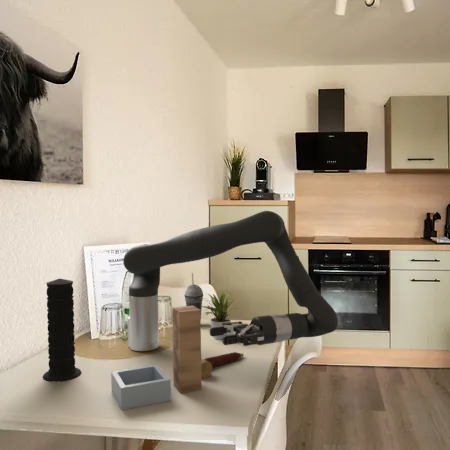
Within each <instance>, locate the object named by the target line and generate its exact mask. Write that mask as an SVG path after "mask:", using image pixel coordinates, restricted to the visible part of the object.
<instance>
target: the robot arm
mask: <svg viewBox="0 0 450 450" xmlns="http://www.w3.org/2000/svg"><path fill="white" fill-rule="evenodd" d="M258 243H265V244H266V246H267V247H268V249H269V250H270V251H271V253H272V255H273V256H274V258H275V259H276V262H277V264H278V267H279V269H280V271H281V274H282V277H283V279H284V282H285V284H286V286H287V288H288V289H289V292H290V294H291V296H292V297H293V299H294V301H295V302H296V304H297V306H299V307H302V308H306V309H307V310H308V311H309V312H308V313H299V312H293V313H292V312H291V313H284V314H280V313H278V314H276V313H275V314H268V315H267V314H266V315H258V316H254V317H253V318H252V319H251V321H250V323H249V324H248V323H247V322H243V321H240V320H239V321H230V323H222V326H221V327H213V328H211V327H210V328H209V336H211V337H213V336H219V335H226V336H223V340H222V344H223V346H229V345H236V344H237V345H243V347H248V346H253V345H257V346H263V345H268V344H276V343H282V342H285V341H288V340H289V341H290V340H296V339H301V338H315V337H321V336H324V335H326V334H330V333H333V332H335V331H336V330H337V328H338V326H339V320H338V315H337V313H336V311H335V309H334V308H333V307H332V306H331V304H330V303H329V302H328V301H327V300H326V299H325V298H324V296H322V295H321V294H320V292H318V289H317V288H316V286H315V284H314V282H313V280H312V279H311V276H310V275H309V273H308V271H307V270H306V268H305V266H304V265H303V263H302V261H301V259H300V257H299V255H298V254H297V252H296V250H295V248H294V247H293V244H292V242H291V239H290V236H289V234H288V231H287V228H286V224H285V222H284V219H283V217H282V216H281V215H279V214H278V213H276V212H274V211H271V210H264V211H260V212H257V213H255V214H253V215H250V216H247V217H246V218H242V219H239V220H236V221H233V222H229V223H221V224H216V225H212V226H206V227H203V228H198V229H195V230H191V231H188V232H186V233H182V234H180V235H177V236H175V237H172V238H170V239H167V240H164V241H161V242H157V243H152V244H148V243H144V244H140V245H135V246H133V247H131V248H129V250H127V251H126V253H125V255H124V256H123V261H122V262H123V265H124V269H126V270H127V271H128V272H129V273H131V274H133V277H132V281H131V284H130V285H129V287H128V310H129V311H128V312H129V316H128V318H127V347H128V348H129V349H130V350H132V351H135V352H149V351H153V350H156V349H158V348H159V345H160V344H159V343H160V341H159V340H160V338H159V337H160V336H159V330H160V329H159V288H160V287H159V286H160V282H161V268H162V267H165V266H170V265H177V264H183V263H190V262H195V261H200V260H205V259H207V258H208V259H209V258H212V257H216V256H219V255H221V254H224V253H226V252H228V251H231V250H233V249H234V248H237V247H240V246H245V245H251V244H258ZM227 328H229V330H227Z"/></svg>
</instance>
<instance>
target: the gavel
mask: <svg viewBox="0 0 450 450" xmlns="http://www.w3.org/2000/svg"><path fill="white" fill-rule="evenodd" d="M243 357H244V353H241V352H235V351H233V352H230V353H224V354H220V355H216V356H215V355H214V356H210V357H206V358H204V359H201V379H205V378H206V379H207V378H208V377H210V376H211V374H212V372H213V367H216V366H219V365H224V364H229V363H232V362H236V360H237V361H238V360H240V359H241V358H243Z"/></svg>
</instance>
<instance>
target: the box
mask: <svg viewBox="0 0 450 450" xmlns="http://www.w3.org/2000/svg"><path fill="white" fill-rule="evenodd" d="M110 373H111V374H110V376H111V380H110V381H111V393H112V395H113V397H114V398H115V400H116V403H117V404H118V406H119V408H120V409H121V410H120V411H124V410H128V409H133V408H140V407H145V406H149V405H150V406H151V405H155V404H160V403H165V402H170V401H172V389H171V388H172V387H171V385H172V384H171V383H172V382H171V381H172V380H171V378H170V377H169V376H168V375H167V374H166V373H165V372H164V371H163V369H162V368H161V367H160V366H159V365H158V364H153V365H152V364H151V365H144V366H139V367H138V366H137V367H133V368H132V367H131V368H126V369H119V370H118V369H117V370H114V371H111V372H110Z"/></svg>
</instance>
